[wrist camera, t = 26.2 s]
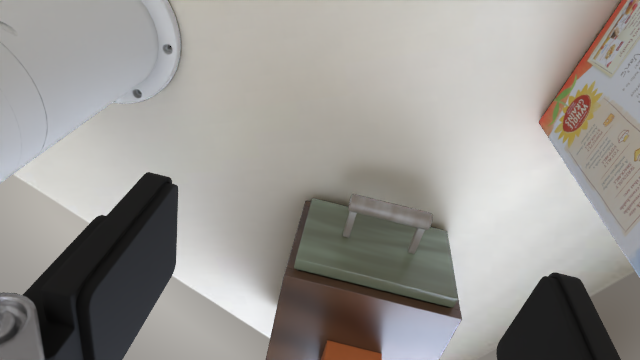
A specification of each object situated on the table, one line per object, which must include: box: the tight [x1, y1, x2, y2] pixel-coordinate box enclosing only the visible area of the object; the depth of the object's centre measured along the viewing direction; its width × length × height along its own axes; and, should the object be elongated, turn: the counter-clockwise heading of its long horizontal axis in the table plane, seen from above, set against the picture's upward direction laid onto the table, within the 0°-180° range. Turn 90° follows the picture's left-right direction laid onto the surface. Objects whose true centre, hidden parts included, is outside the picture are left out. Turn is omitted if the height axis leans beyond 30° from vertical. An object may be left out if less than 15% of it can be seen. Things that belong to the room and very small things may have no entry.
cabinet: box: [266, 201, 462, 360], centre depth 45 cm, size 17×15×11 cm
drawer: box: [294, 194, 458, 308], centre depth 43 cm, size 20×14×9 cm
